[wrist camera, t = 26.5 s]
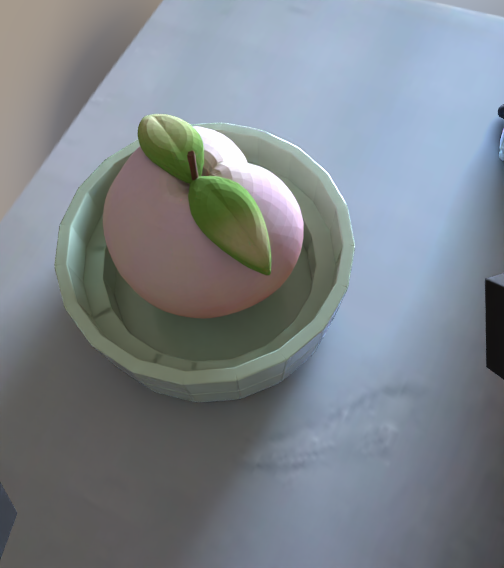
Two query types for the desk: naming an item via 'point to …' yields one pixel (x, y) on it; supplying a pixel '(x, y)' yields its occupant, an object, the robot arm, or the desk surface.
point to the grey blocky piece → (503, 153)
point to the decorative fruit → (199, 222)
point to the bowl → (220, 330)
